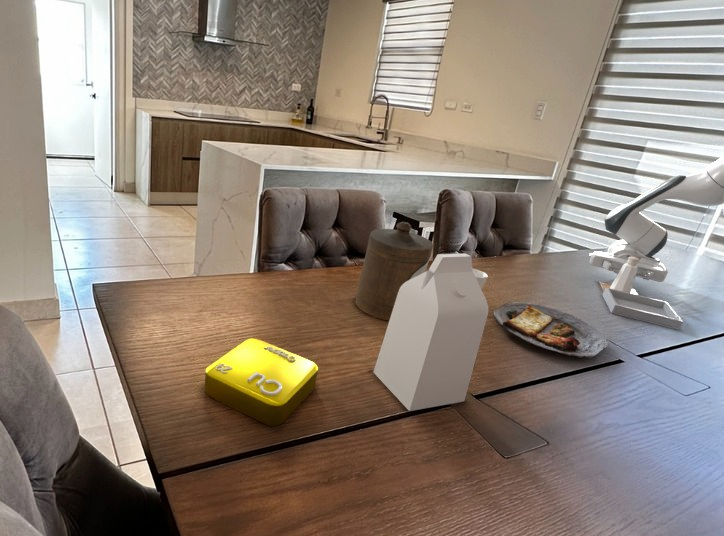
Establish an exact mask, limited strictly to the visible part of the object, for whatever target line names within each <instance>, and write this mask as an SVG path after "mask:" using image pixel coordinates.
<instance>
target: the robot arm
mask: <svg viewBox="0 0 724 536" xmlns="http://www.w3.org/2000/svg"><path fill="white" fill-rule="evenodd" d="M664 200H677V201H682V202H686V203H690V204H693V205H696V206H702V207H715V206H720V205H723V204H724V155H723V156H721V157H720V158H718V159H717V160H716V161H714V162H712V163H711V164H710V165H708V166H707V167H705V168H704V169H702V170H701V171H697V172H695V173H692V174H689V175H684V174H683V175H682V174H679V175H675V176H674V177H671V178H669V179H667V180H665V181H663V182H661V183H660V184H658V185H656V186H655V187H653V188H650V189H649V190H648V191H646V192H644V193H642V194H640V195H639V196H637V197H635V198H634V199H632V200H630V201H628V202H625V203H624V204H622V205H619V206H617V207H615V208H614V209H612V210H611V211H609V212H608V214H607V215H606V216H605V218H604V227H605V230H606V231H607V232H609V233H611V234H612V235H614V236H616V237H618V238H619V240H616V241H614V242H612V243H611V244H610V246H608V249H607V251H606V252H603V251H600V250H599V251H598V250H595V251H593V252H589V253H588V257H589V258H590V259H589V261H588V264H589V265H590V266H593V267H597V268H601V269H605V270H606V271H610V272H613V273H614V274H617V275H618V273H619V271H620V270H621V268H622V266H623V265H624V264H625V263H627V261H628V258H629V257H636V258H638V259H639V262H638V264H637V267H638V269H637V273H636V276H635V277H637V278H642V280H647V281H649V280H650V281H654V282H658V283H663V282H665V279H666V278H667V275H668V273H669V272H668V270H667V268H666V267H665V265H664V264H663V263H661V259H659V258H656V257H653V256H655V255H657V253H659V252H660V251H661V250H662V249H663V248H664V247H665V246H666V244H667V241H668V237H669V235H668V230H666V228H664V227H662V226H661V225H659V224H658V223H656V222H655V221H654V220H652V219H651V218H648V217H647V216H646V215H644V214H643V213H641V212H642V211H644V210H646V209H648V208H650V207H652V206H653V205H656V204H657V203H659V202H661V201H664Z"/></svg>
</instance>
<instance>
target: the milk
mask: <svg viewBox="0 0 724 536" xmlns="http://www.w3.org/2000/svg"><path fill="white" fill-rule="evenodd" d="M472 260H473V259H472V256H471V255H469V254H467V253H466V252H465V253H463V252H462V253H438V254H436V256H435V258H434V260H433V261H432V263H431V265H430V267H429V268H428V269H427V270H426V272H424V273H422V274H420V275H418V276H416V277H414V278H412V279H410V280H408V281H407V282H405V283H404V284H403V285H402V286H401V287H400V289H399V292H398V295H397V298H396V301H395V304H394V308H393V311H392V314H391V317H390V320H388V324H387V327H386V330H385V333H384V337H383V340H382V343H381V346H380V349H379V352H378V355H377V359H376V362H375V365H374V369H373V371H372V373H373V374H374V375H375V376H376V377H377V378H378V379H379V380H380V381H381V383H382V384H383V385H384V386H385V387H386V388H387V389H388V390H389V391H390V392H391V393H392V394H393V396H394V397H395V398H397V400H398V401H399V402H400V403H401V404H402V406H404V408H405V409H407V410H408V412H413V411H418V410H424V409H430V408H434V407H435V408H436V407H440V406H446V405H453V404H457V403H463V402H465V400H466V396H467V393H468V389H469V386H470V382H471V378H472V375H473V370H474V366H475V363H476V360H477V356H478V353H479V349H480V345H481V343H482V342H481V341H482V337H483V334H484V330H485V326H486V323H487V319H488V315H489V304H488V301H487V298H486V297H485V294H484V292H483V289H482V290H481V288H480V286H479V283H478V281H477V279H476V277H475V275H474V273H473V272H472V271H473V269H474V268H473V261H472Z"/></svg>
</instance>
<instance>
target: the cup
mask: <svg viewBox="0 0 724 536" xmlns="http://www.w3.org/2000/svg"><path fill="white" fill-rule="evenodd" d="M472 272H473V273H474V275H475V277H476V279H477V281H478V283H479V286H480V288H481V290H482V291H483V288H484V286H485V284H486V282H487V280H488V278H489V276H488V274H487V273H486V272H485V271H482V270H480V269H477V268H473V271H472Z"/></svg>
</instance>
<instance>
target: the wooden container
mask: <svg viewBox="0 0 724 536" xmlns="http://www.w3.org/2000/svg"><path fill="white" fill-rule="evenodd" d="M395 226H396V229H393V228H378V229H374V230H372V231H371V232H370V234H369V237H368V243H367V248H366V252H365V256H364V260H363V265H362V268H361V272H360V277H359V282H358V287H357V291H356V297H355V305H356V307H357V308H359V310H361V311H362V312H363V313H365V314H367V315H369V316H371V317H374V318H378V319H381V320H384V321H389V320H390V317H391V314H392V311H393V308H394V304H395V301H396V298H397V295H398V292H399V289H400V287H401V286H402V285H403V284H404V283H405V282H407V281H408V280H410V279H412V278H414V277H416V276H418V275H420V274H422V273H424V272H426V271H428V265H429V262H430V258H431V256H432V252H433V248H434V243H433V242H432V241H431V240H429V239H428V238H426V237H425V236H422V235H419V234H416V233H414V232H411V230H412V225H411V224H410V223H409V222H406V221H401V222H398V223H397V224H396V225H395Z"/></svg>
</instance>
